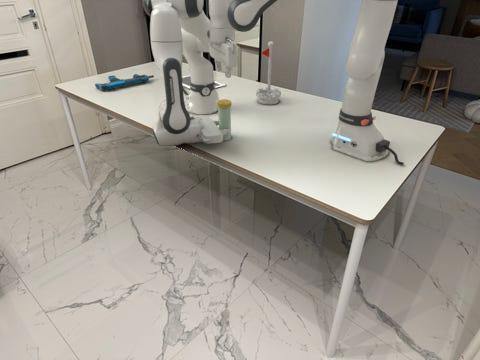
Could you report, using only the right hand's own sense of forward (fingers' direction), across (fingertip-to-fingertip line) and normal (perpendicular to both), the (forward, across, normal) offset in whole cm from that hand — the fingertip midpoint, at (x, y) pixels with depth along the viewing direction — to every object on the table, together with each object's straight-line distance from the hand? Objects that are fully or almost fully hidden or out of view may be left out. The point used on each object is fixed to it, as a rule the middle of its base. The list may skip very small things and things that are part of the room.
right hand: (223, 73), depth 129 cm
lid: (+11, 0, 0) cm, 11 cm away
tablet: (+27, +78, -12) cm, 83 cm away
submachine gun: (+27, +97, +29) cm, 104 cm away
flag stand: (+27, +32, -37) cm, 56 cm away
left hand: (+22, 0, -1) cm, 22 cm away
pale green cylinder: (+27, 0, 0) cm, 27 cm away
